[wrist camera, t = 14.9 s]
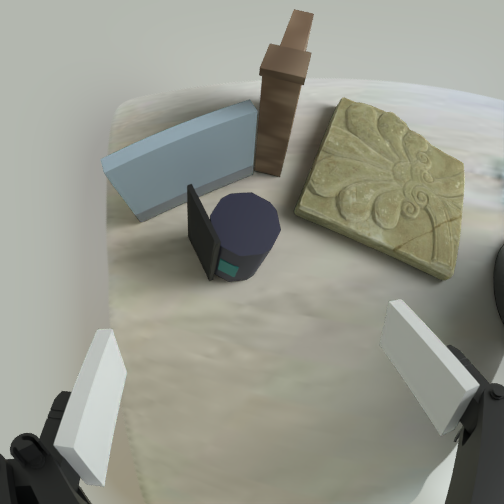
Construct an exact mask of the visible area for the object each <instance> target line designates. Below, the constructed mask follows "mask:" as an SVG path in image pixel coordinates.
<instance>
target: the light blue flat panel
mask: <svg viewBox="0 0 504 504" xmlns="http://www.w3.org/2000/svg"><path fill="white" fill-rule="evenodd" d="M257 112H258V111H257V109H256V108H255V106H254V105H253V104H252V102H251V101H250V100H247V101H243V102H240V103H237V104H234V105H231V106H228V107H225V108H222V109H219V110H216V111H214V112H211V113H208V114H205V115H202V116H200V117H197V118H194V119H192V120H189V121H186V122H184V123H181V124H179V125H176V126H174V127H171V128H169V129H166V130H164V131H161V132H159V133H157V134H154V135H152V136H150V137H147V138H145V139H143V140H140V141H138V142H136V143H134V144H131V145H129V146H127V147H125V148H123V149H121V150H119V151H116V152H114V153H112V154H110V155H108V156H106V157H104V158H102V159H101V163H102V167H103V171H104V173H105V175H106V176H107V178H108V179H109V180H110V182H111V183H112V185H113V186H114V187H115V189H116V190H117V191H118V193H119V194H120V195H121V197H122V198H123V199H124V201H125V202H126V203H127V205H128V206H129V207H130V209H131V210H132V211H133V213H134V214H135V216H136V217H137V218H138V219H139V221H140V222H143V221H145V220H147V219H150V218H152V217H154V216H156V215H158V214H160V213H163V212H165V211H167V210H169V209H172V208H174V207H176V206H178V205H181V204H183V203H185V202H187V185H190V184H192V185H193V187H194V189H195V191H196V193H197V195H198V197H199V196H202V195H204V194H206V193H209V192H211V191H213V190H216V189H218V188H221V187H223V186H225V185H228V184H230V183H233V182H235V181H238V180H240V179H243V178H245V177H248V176H250V175H253V166H254V165H253V163H254V150H255V137H256V125H257Z"/></svg>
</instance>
